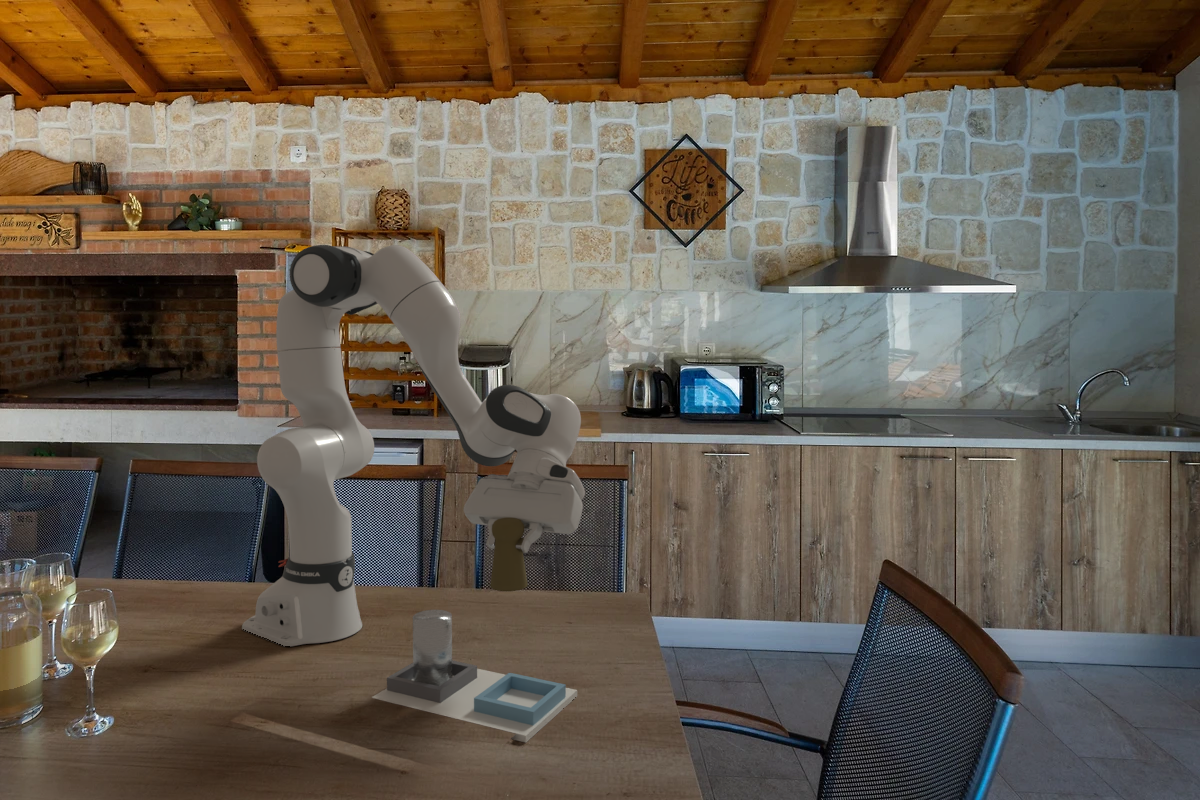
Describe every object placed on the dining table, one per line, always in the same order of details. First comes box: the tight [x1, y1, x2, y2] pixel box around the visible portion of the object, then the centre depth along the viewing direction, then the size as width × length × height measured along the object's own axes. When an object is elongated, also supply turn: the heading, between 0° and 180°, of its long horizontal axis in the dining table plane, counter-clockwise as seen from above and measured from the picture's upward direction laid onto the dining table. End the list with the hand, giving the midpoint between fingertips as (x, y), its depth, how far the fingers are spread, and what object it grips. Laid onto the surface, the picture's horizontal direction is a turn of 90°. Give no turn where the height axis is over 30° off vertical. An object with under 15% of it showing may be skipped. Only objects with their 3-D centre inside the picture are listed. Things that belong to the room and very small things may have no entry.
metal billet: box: [412, 609, 453, 686], centre depth 130 cm, size 6×6×11 cm
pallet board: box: [371, 659, 578, 743], centre depth 127 cm, size 27×16×3 cm, turn 65°
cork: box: [489, 517, 529, 592], centre depth 133 cm, size 6×6×11 cm
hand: (506, 548), depth 133 cm, fingers closed on cork, 4 cm apart
